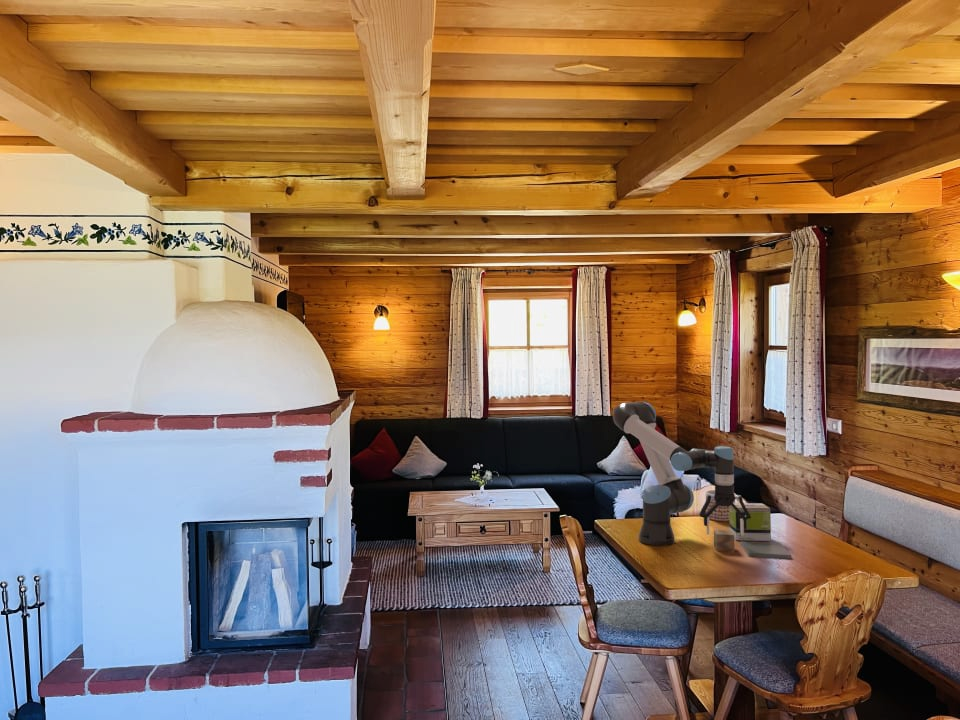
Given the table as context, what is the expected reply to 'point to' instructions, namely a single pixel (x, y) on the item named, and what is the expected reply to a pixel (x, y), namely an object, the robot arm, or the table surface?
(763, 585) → the table surface
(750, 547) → the slate board
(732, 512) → the tea box
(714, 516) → the planter
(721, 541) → the walnut cube
